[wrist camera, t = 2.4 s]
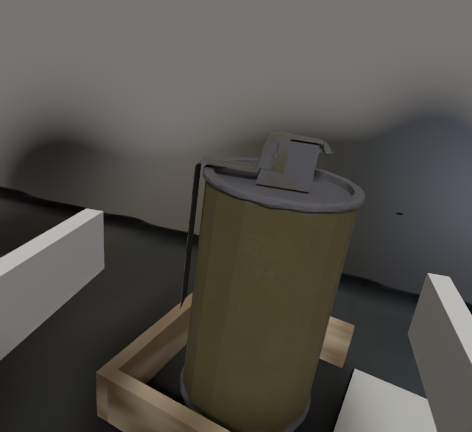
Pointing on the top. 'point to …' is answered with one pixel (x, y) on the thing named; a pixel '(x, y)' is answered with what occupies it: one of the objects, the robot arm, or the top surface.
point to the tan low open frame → (154, 359)
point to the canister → (264, 282)
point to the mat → (382, 408)
